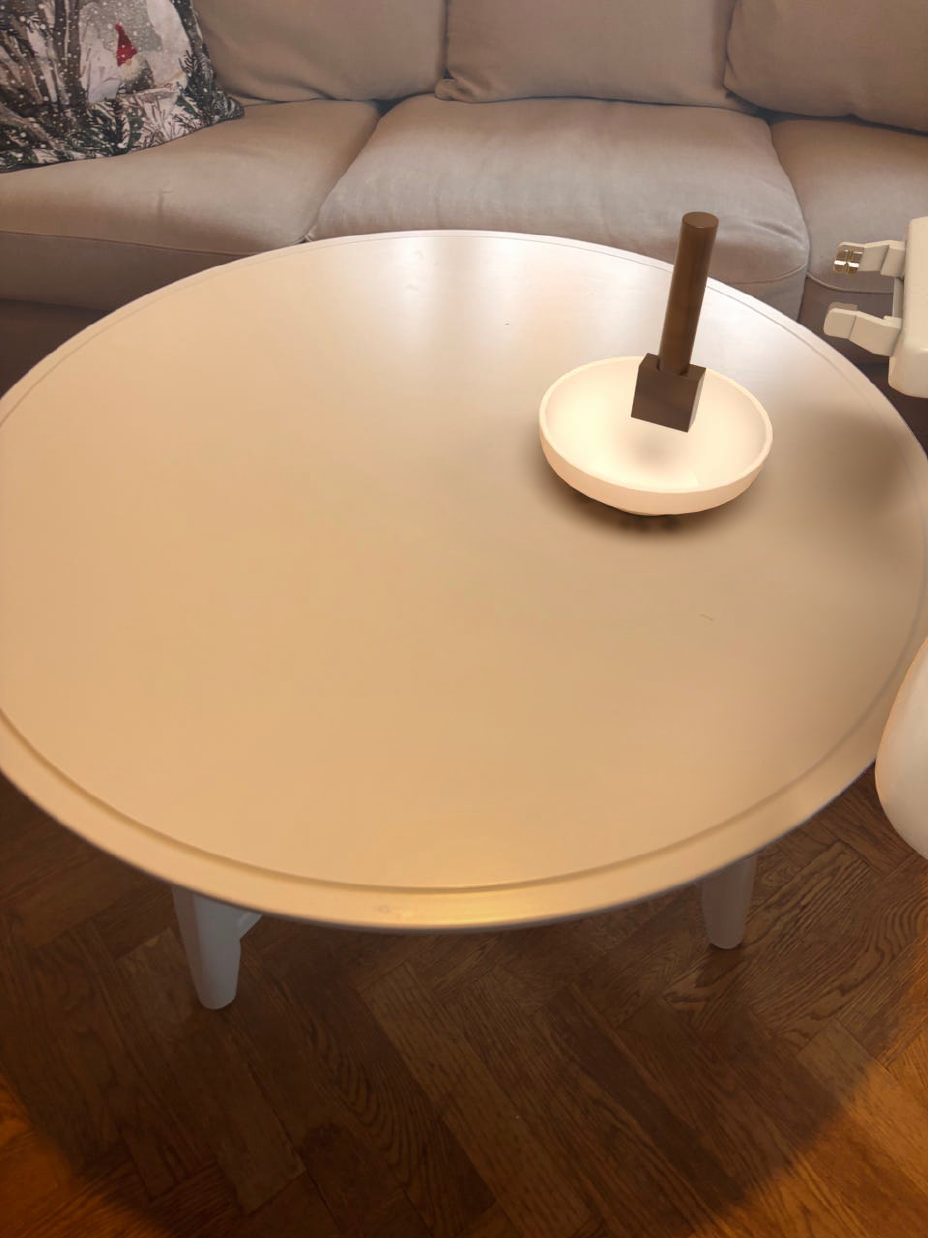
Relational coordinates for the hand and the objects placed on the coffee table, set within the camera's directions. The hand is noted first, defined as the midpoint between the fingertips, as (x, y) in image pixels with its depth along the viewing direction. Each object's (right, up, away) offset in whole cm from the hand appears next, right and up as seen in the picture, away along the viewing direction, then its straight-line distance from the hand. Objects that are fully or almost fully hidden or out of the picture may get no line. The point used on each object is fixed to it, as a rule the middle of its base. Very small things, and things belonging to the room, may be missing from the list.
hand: (830, 285), depth 69 cm
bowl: (-10, -12, +18) cm, 24 cm away
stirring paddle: (-10, -7, +12) cm, 17 cm away
